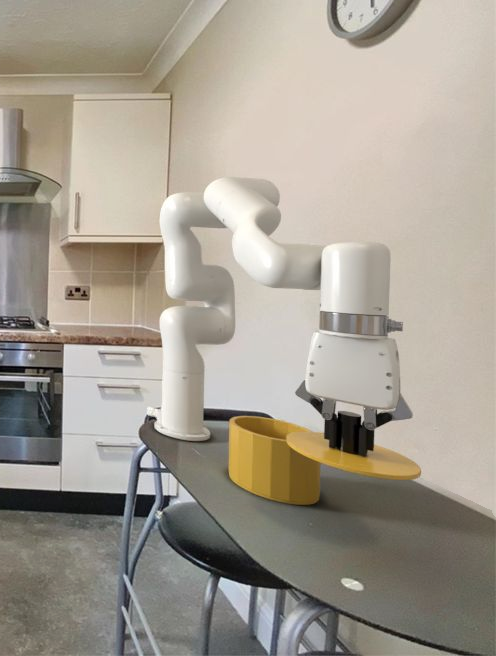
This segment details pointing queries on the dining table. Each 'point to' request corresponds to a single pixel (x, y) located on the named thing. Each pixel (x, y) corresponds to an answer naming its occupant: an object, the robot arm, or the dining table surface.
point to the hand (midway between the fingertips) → (348, 448)
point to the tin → (271, 461)
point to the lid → (353, 452)
